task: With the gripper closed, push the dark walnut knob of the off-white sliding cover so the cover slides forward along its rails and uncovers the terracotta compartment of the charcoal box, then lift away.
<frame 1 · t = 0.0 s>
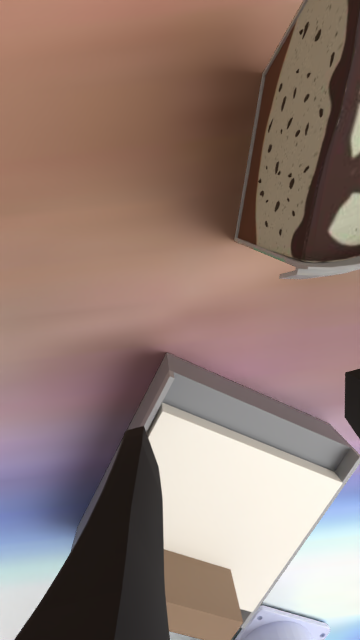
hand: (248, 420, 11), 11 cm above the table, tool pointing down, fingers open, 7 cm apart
cover: (215, 538, 19), point 5 cm above the table, slide at 0.0 cm
food container: (293, 171, 19), on the table
box: (202, 475, 24), on the table
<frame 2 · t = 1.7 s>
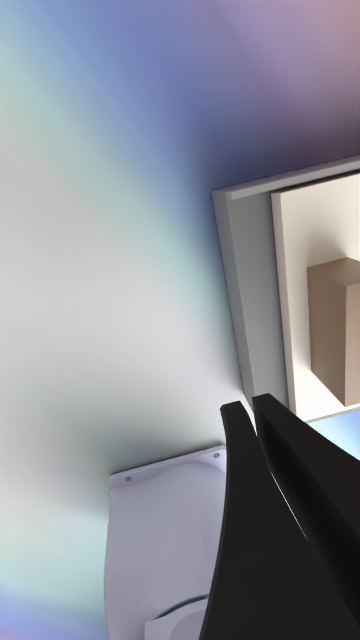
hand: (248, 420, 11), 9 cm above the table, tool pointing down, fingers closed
box: (350, 277, 19), on the table
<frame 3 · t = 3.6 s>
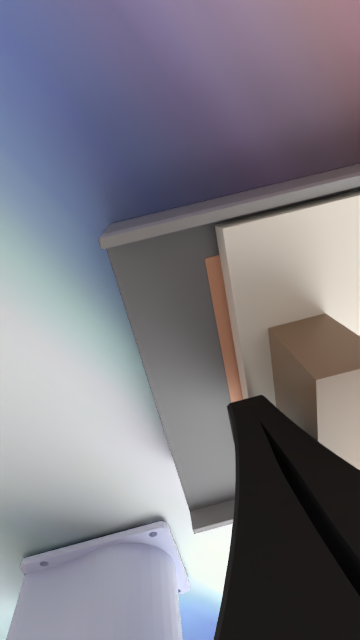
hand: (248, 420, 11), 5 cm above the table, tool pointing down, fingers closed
box: (308, 328, 15), on the table
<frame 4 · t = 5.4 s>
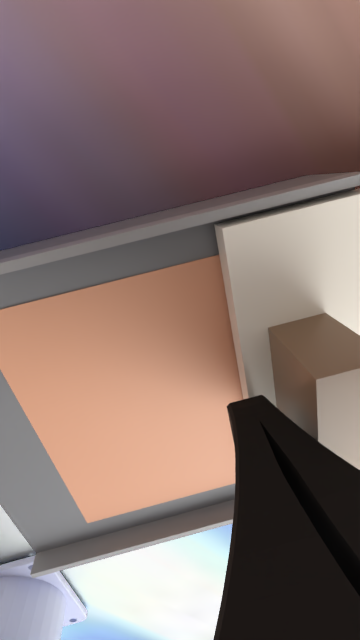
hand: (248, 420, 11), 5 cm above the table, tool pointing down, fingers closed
box: (157, 366, 15), on the table
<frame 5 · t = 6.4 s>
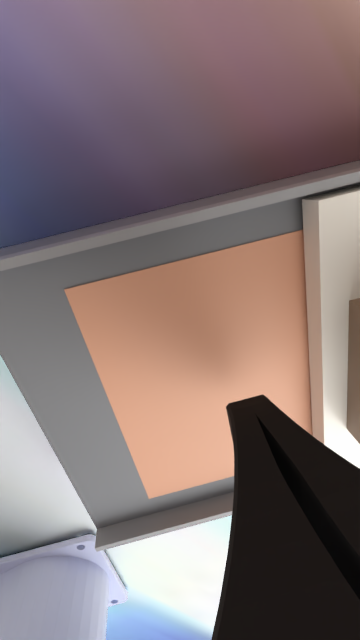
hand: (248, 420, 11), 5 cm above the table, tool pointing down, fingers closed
box: (215, 347, 15), on the table
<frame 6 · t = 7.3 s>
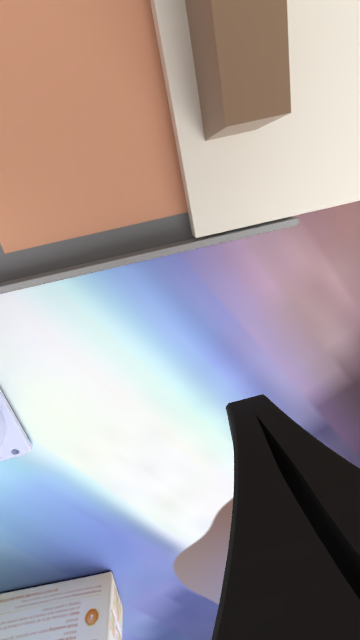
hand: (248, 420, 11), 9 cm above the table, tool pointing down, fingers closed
box: (86, 99, 14), on the table
coffeecake box: (42, 602, 29), on the table
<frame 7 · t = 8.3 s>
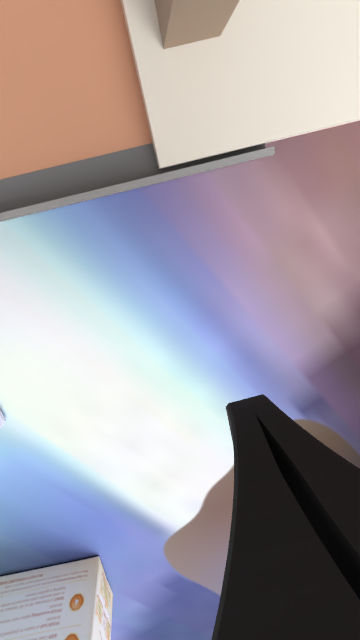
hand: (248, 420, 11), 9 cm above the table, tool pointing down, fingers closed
box: (40, 23, 13), on the table
coffeecake box: (28, 589, 28), on the table
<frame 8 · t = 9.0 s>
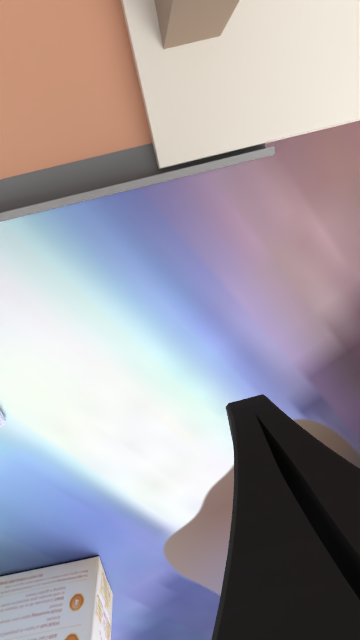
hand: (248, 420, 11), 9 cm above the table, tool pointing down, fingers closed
box: (40, 23, 13), on the table
coffeecake box: (28, 589, 28), on the table
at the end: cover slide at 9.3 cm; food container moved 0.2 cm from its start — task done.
